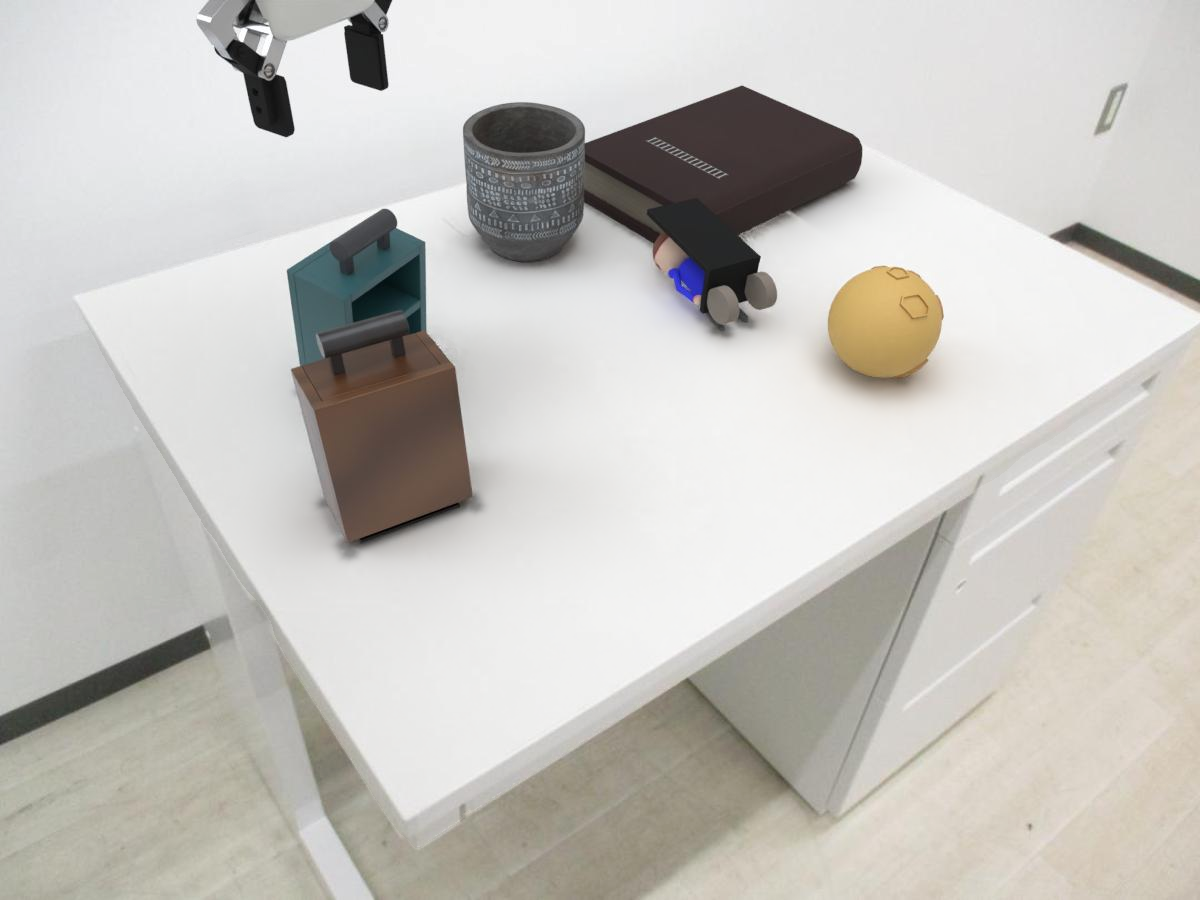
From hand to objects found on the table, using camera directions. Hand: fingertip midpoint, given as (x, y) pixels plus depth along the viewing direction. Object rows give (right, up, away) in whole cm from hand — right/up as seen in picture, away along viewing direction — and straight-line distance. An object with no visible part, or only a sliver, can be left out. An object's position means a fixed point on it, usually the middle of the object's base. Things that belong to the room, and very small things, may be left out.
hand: (324, 107), depth 68 cm
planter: (+12, -2, +35) cm, 37 cm away
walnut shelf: (+5, -24, -1) cm, 24 cm away
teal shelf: (-3, -11, +12) cm, 17 cm away
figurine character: (+30, -9, +28) cm, 42 cm away
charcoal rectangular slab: (+4, -28, +6) cm, 29 cm away
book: (+33, +6, +44) cm, 56 cm away
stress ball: (+45, -17, +21) cm, 52 cm away
